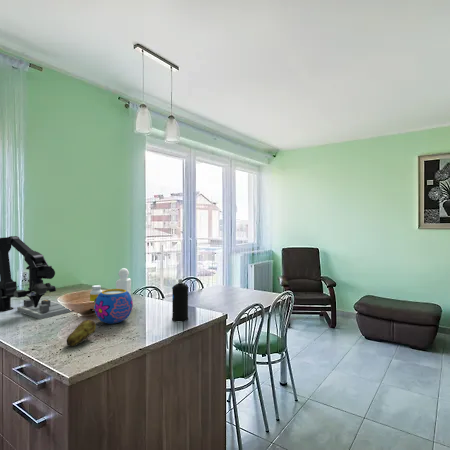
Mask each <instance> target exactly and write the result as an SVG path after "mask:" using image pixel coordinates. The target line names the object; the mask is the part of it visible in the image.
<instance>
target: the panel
mask: <svg viewBox="0 0 450 450" xmlns="http://www.w3.org/2000/svg"><path fill="white" fill-rule="evenodd" d="M60 303H61V302H58V301H55V300H51V299H50V307H49V305H47V304H43V305H41V302H39V303H38V306H37V307H36V308H35V307H34V305H33V303H32V301H31V300H30V298H28V299H23V305H20V306H17V309H16V310H17V312H19V313H22V314H25V315H27V316H30V317H32V318H35V319H38V320H42V319H46V318H50V317H53V316H54V317H55V316H59V315H62V314H67V313H70V312H71V311H70V310H69V309H67V308H65V307H64V306H62V305H61V304H60Z"/></svg>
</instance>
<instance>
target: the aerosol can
mask: <svg viewBox="0 0 450 450" xmlns="http://www.w3.org/2000/svg"><path fill="white" fill-rule="evenodd" d="M171 289H172V290H171V291H172V294H171V295H172V298H171V299H172V313H171V315H172V317H171V320H172V321H173V320H174V322H176V321H182V322H186V321H188V320H189V289H190V288H189V286H188V285H187V284H186V283H184V282H183V278H178V283H176V284H174V285H173V286H172V287H171ZM185 320H186V321H185Z"/></svg>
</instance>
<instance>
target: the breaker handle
mask: <svg viewBox="0 0 450 450" xmlns="http://www.w3.org/2000/svg"><path fill="white" fill-rule="evenodd" d="M50 301H51V299H43V300H42V299H41V302H40V303H41V305H43V304H47V305H49V307H50Z"/></svg>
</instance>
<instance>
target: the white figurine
mask: <svg viewBox="0 0 450 450" xmlns="http://www.w3.org/2000/svg"><path fill="white" fill-rule="evenodd" d="M117 274H118V276H119V279H117V280H116V281H115V289H124V290H126V291H128V292H129V294H130V295H131V296H132V294H131V293H132V278H130V277H129V275H130V272H129V270H128V268H125V267H122V268H121V269H119V271H118V273H117Z"/></svg>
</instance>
